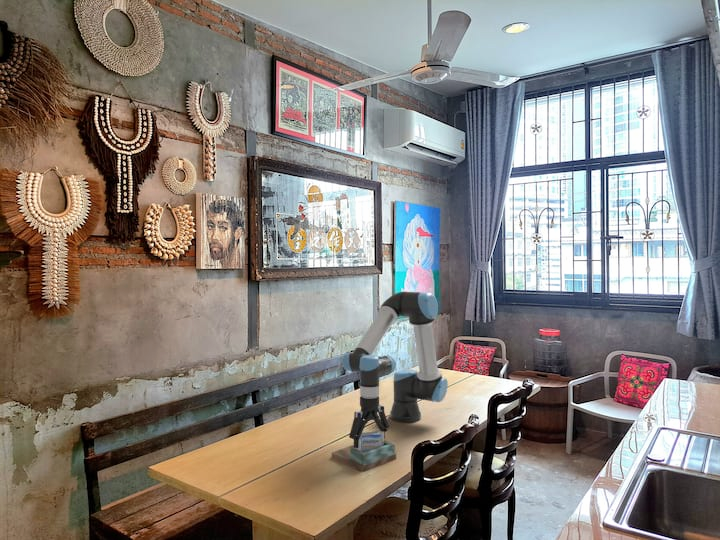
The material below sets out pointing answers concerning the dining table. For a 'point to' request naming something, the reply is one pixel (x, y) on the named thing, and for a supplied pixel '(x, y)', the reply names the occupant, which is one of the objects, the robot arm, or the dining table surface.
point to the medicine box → (370, 441)
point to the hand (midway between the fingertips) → (369, 451)
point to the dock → (366, 456)
